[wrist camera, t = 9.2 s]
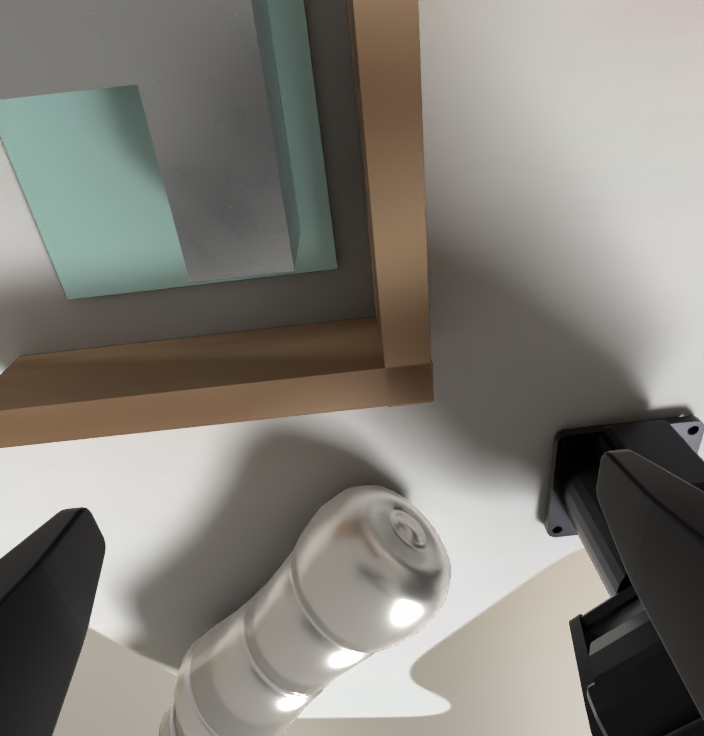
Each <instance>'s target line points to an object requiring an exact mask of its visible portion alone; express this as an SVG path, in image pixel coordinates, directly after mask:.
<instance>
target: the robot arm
mask: <svg viewBox="0 0 704 736" xmlns="http://www.w3.org/2000/svg"><path fill="white" fill-rule="evenodd" d="M690 427H691V428H690ZM689 428H690V429H689ZM703 433H704V424H703V423H702V422H701V421H700V420H699V419H698V418H697V417H695V416H686V417H677V418H667V419H658V420H649V421H639V422H630V423H621V424H611V425H602V426H593V427H583V428H574V429H566V430H562V431H560V432H559V433H557V435H556V436H555V438H554V445H553V454H552V463H551V472H550V481H549V490H548V499H547V508H546V516H545V529H546V531H547V533H548V534H549V535H550V536H552V537H561V536H570V535H579V537H580V539H581V541H582V543H583V545H584V547H585V549H586V551H587V553H588V555H589V557H590V559H591V560H592V562H593V564H594V566H595V568H596V570H597V572H598V574H599V576H600V578H601V580H602V582H603V584H604V586H605V587H606V589H607V591H608V593H609V595H610V597H611V598H609V599H608V600H606V601H605V602H603V603H601V604H600V605H598V606H597V607H595V608H593V609H592V610H590V611H589V612H588V613H586V614H584V615H581V614H580V615H578V616H576V617H575V618H573V619H572V620H570V621H569V625H570V630H571V635H572V640H573V645H574V651H575V656H576V661H577V666H578V671H579V676H580V681H581V687H582V692H583V697H584V702H585V707H586V711H587V715H588V720H589V724H590V729H591V733H592V735H593V736H704V461H703V459H702V458H701V457H700V456H699V455H698V454H697V453H698V450H699V446H700V443H701V440H702V436H703ZM568 439H570V440H569V441H568V442H565V443H564V441H566V440H568ZM104 555H105V541H104V537H103V535H102V533H101V531H100V529H99V527H98V525H97V523H96V521H95V519H94V517H93V515H92V513H91V512H90V511H89V510H88V509H87V508H83V507H82V508H72V509H65V510H62V511H60V512H59V513H57V514H56V515H55V516H53V517H52V518H51V519H50V520H48V521H47V522H46V523H45V524H43V525H42V526H41V527H40V528H38V529H37V530H36V531H35V532H33V533H32V534H31V535H30V536H28V537H27V538H26V539H25V540H23V541H22V542H21V543H20V544H18V545H17V546H16V547H15V548H13V549H12V550H11V551H10V552H8V553H7V554H6V555H5V556H3V557H2V558H1V559H0V736H52V735H53V732H54V729H55V726H56V723H57V720H58V717H59V714H60V711H61V708H62V705H63V702H64V699H65V696H66V694H67V691H68V688H69V685H70V682H71V679H72V676H73V673H74V670H75V667H76V664H77V661H78V658H79V655H80V652H81V649H82V646H83V643H84V640H85V636H86V632H87V629H88V625H89V621H90V616H91V612H92V608H93V603H94V599H95V594H96V590H97V586H98V581H99V577H100V572H101V568H102V564H103V559H104Z"/></svg>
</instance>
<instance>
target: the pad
mask: <svg viewBox="0 0 704 736" xmlns="http://www.w3.org/2000/svg"><path fill="white" fill-rule="evenodd" d="M267 3H268V10H269V17H270V24H271V31H272V37H273V44H274V51H275V58H276V65H277V72H278V78H279V85H280V92H281V99H282V106H283V113H284V119H285V126H286V133H287V140H288V147H289V154H290V160H291V167H292V174H293V181H294V188H295V195H296V201H297V208H298V215H299V222H300V229H301V233H300V239H299V245H298V251H297V257H296V263H295V269H294V271H289V272H279V273H270V274H260V275H251V276H241V277H232V278H222V279H212V280H203V281H193V282H190V280H189V276H188V273H187V269H186V265H185V261H184V258H183V254H182V250H181V246H180V243H179V239H178V235H177V231H176V228H175V224H174V220H173V216H172V213H171V209H170V205H169V201H168V198H167V194H166V190H165V187H164V183H163V179H162V175H161V172H160V168H159V164H158V160H157V157H156V153H155V149H154V145H153V142H152V138H151V134H150V130H149V127H148V123H147V119H146V116H145V112H144V108H143V104H142V101H141V97H140V93H139V89H138V86H137V85H128V86H119V87H110V88H101V89H92V90H83V91H74V92H65V93H56V94H47V95H38V96H29V97H20V98H11V99H2V100H0V137H1V139H2V142H3V144H4V147H5V149H6V151H7V154H8V156H9V159H10V161H11V164H12V166H13V168H14V171H15V173H16V176H17V178H18V181H19V183H20V185H21V188H22V190H23V193H24V195H25V197H26V200H27V202H28V205H29V207H30V210H31V212H32V214H33V217H34V219H35V222H36V224H37V227H38V229H39V231H40V234H41V236H42V239H43V241H44V244H45V246H46V248H47V251H48V253H49V256H50V258H51V261H52V263H53V265H54V268H55V270H56V273H57V275H58V277H59V280H60V282H61V285H62V287H63V290H64V292H65V294H66V297H67V299H68V300H70V299H79V298H88V297H96V296H105V295H114V294H122V293H131V292H140V291H149V290H157V289H166V288H175V287H183V286H192V285H201V284H209V283H218V282H227V281H235V280H244V279H253V278H261V277H270V276H279V275H287V274H296V273H305V272H313V271H322V270H331V269H337V259H336V251H335V243H334V235H333V227H332V219H331V211H330V204H329V196H328V188H327V180H326V172H325V164H324V156H323V148H322V140H321V132H320V124H319V117H318V109H317V101H316V93H315V85H314V77H313V69H312V61H311V53H310V45H309V37H308V30H307V22H306V14H305V6H304V0H267Z"/></svg>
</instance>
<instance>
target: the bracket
mask: <svg viewBox="0 0 704 736" xmlns="http://www.w3.org/2000/svg"><path fill="white" fill-rule="evenodd" d="M128 85H137V86H138V89H139V93H140V97H141V101H142V104H143V108H144V112H145V116H146V119H147V123H148V127H149V130H150V134H151V138H152V142H153V145H154V149H155V153H156V157H157V160H158V164H159V168H160V172H161V175H162V179H163V183H164V187H165V190H166V194H167V198H168V201H169V205H170V209H171V213H172V216H173V220H174V224H175V228H176V231H177V235H178V239H179V243H180V246H181V250H182V254H183V258H184V261H185V265H186V269H187V273H188V276H189V280H190V282H193V281H203V280H212V279H222V278H232V277H241V276H251V275H260V274H270V273H279V272H289V271H294V269H295V263H296V257H297V251H298V245H299V239H300V233H301V229H300V222H299V215H298V208H297V201H296V195H295V188H294V181H293V174H292V167H291V160H290V154H289V147H288V140H287V133H286V126H285V119H284V113H283V106H282V99H281V92H280V85H279V78H278V72H277V65H276V58H275V51H274V44H273V37H272V31H271V24H270V17H269V10H268V3H267V0H0V100H2V99H11V98H20V97H29V96H38V95H47V94H56V93H65V92H74V91H83V90H92V89H101V88H110V87H119V86H128Z"/></svg>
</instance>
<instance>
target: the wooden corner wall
mask: <svg viewBox="0 0 704 736" xmlns="http://www.w3.org/2000/svg"><path fill="white" fill-rule="evenodd" d="M347 8H348V19H349V30H350V41H351V52H352V62H353V73H354V84H355V95H356V106H357V117H358V127H359V138H360V149H361V160H362V171H363V182H364V192H365V203H366V214H367V225H368V236H369V247H370V257H371V268H372V279H373V290H374V301H375V312H376V316H373V317H364V318H355V319H346V320H337V321H328V322H319V323H311V324H302V325H293V326H284V327H275V328H266V329H257V330H249V331H240V332H231V333H222V334H213V335H204V336H196V337H187V338H178V339H169V340H160V341H151V342H142V343H134V344H125V345H116V346H107V347H98V348H89V349H80V350H72V351H63V352H54V353H45V354H36V355H27V356H19V357H18V358H17V359H16V360H15V361H14V362H13V363H12V364H11V365H10V366H9V367H8V368H7V369H6V370H5V371H4V372H3V373H2V374H1V375H0V448H4V447H14V446H23V445H32V444H41V443H50V442H59V441H69V440H78V439H87V438H96V437H105V436H114V435H124V434H133V433H142V432H151V431H160V430H170V429H179V428H188V427H197V426H206V425H215V424H225V423H234V422H243V421H252V420H261V419H270V418H280V417H289V416H298V415H307V414H316V413H325V412H335V411H344V410H353V409H362V408H371V407H381V406H388V407H392V406H401V405H410V404H419V403H428V402H432V401H434V393H433V363H432V360H431V350H430V322H429V294H428V266H427V238H426V210H425V182H424V153H423V125H422V97H421V69H420V41H419V13H418V0H347Z"/></svg>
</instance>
